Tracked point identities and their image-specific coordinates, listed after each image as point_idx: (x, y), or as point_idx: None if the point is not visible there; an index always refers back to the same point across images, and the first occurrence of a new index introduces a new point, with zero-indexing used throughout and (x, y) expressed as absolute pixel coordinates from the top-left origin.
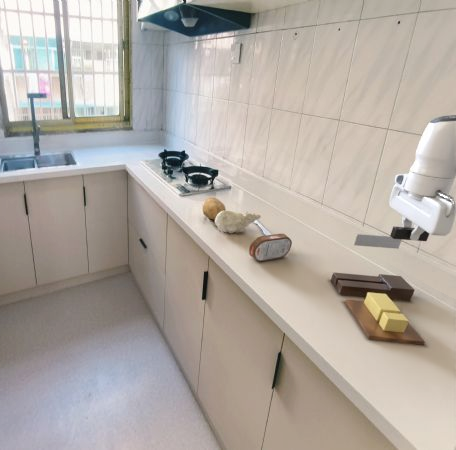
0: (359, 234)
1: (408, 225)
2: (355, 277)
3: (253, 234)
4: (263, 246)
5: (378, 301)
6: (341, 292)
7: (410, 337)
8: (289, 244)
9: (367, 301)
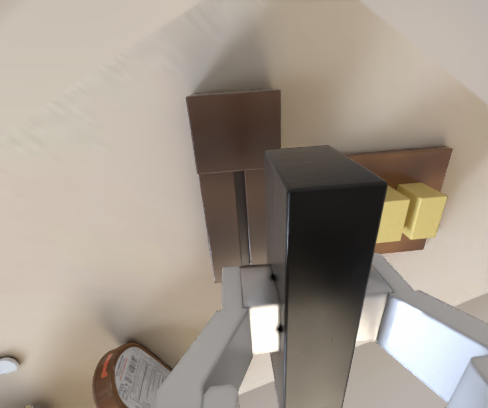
0: None
1: (241, 348)
2: (227, 238)
3: (28, 386)
4: None
5: None
6: None
7: (436, 174)
8: (116, 371)
9: None
